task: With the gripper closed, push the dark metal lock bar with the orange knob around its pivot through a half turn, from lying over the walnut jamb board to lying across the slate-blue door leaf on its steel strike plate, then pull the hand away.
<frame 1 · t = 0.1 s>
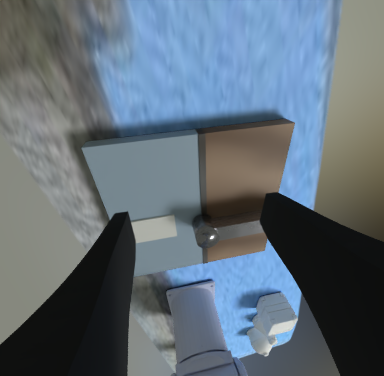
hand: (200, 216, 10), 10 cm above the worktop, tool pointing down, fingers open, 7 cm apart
jamb board: (234, 199, 23), on the worktop
door leaf: (158, 212, 22), on the worktop
container set: (260, 314, 45), on the worktop
lock bar: (240, 226, 21), point 3 cm above the worktop, hinge at 0.0°
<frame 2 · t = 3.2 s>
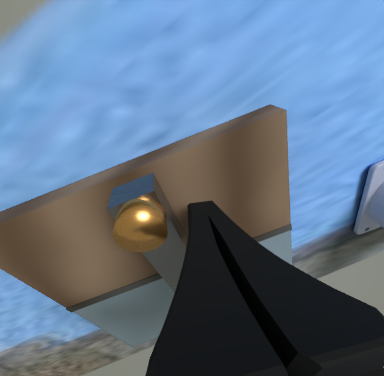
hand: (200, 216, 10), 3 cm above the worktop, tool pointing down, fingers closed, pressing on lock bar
jamb board: (153, 218, 13), on the worktop
door leaf: (194, 282, 19), on the worktop
lock bar: (175, 258, 11), point 3 cm above the worktop, hinge at 0.0°, touching gripper
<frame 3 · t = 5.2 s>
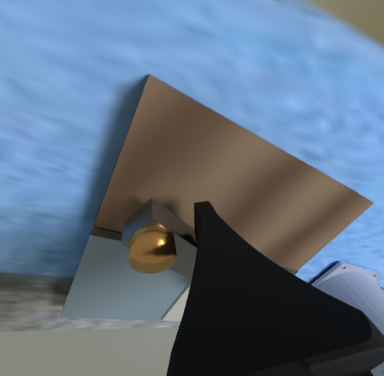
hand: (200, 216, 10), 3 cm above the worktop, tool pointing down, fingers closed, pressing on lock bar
jamb board: (242, 202, 14), on the worktop
door leaf: (185, 277, 18), on the worktop
lock bar: (202, 263, 12), point 3 cm above the worktop, hinge at 68.3°, touching gripper
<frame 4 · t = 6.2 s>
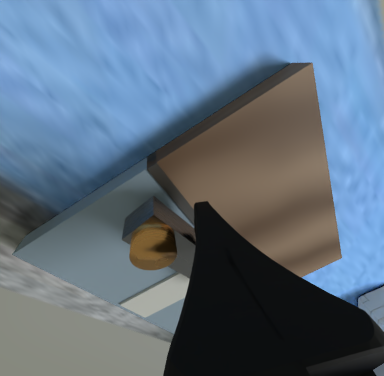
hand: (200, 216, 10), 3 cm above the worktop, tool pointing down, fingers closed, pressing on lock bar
jamb board: (263, 213, 15), on the worktop
door leaf: (166, 266, 17), on the worktop
container set: (368, 309, 34), on the worktop
lock bar: (201, 262, 12), point 3 cm above the worktop, hinge at 98.5°, touching gripper
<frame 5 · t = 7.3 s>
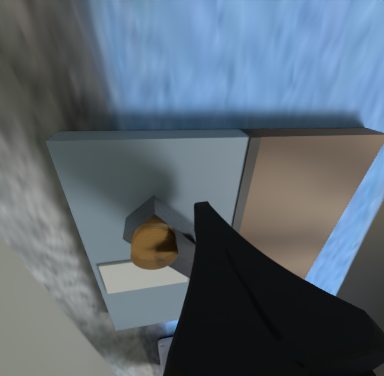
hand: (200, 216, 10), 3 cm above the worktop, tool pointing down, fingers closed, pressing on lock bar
jamb board: (269, 232, 17), on the worktop
door leaf: (162, 245, 15), on the worktop
lock bar: (201, 262, 12), point 3 cm above the worktop, hinge at 130.4°, touching gripper
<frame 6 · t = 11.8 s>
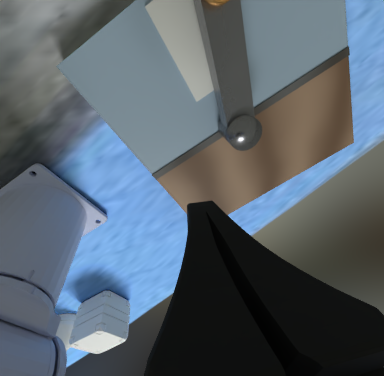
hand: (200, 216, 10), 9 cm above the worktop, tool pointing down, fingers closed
jamb board: (252, 151, 19), on the worktop
door leaf: (210, 56, 14), on the worktop
container set: (68, 318, 30), on the worktop
lock bar: (229, 71, 12), point 3 cm above the worktop, hinge at 167.0°
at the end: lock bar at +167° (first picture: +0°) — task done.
